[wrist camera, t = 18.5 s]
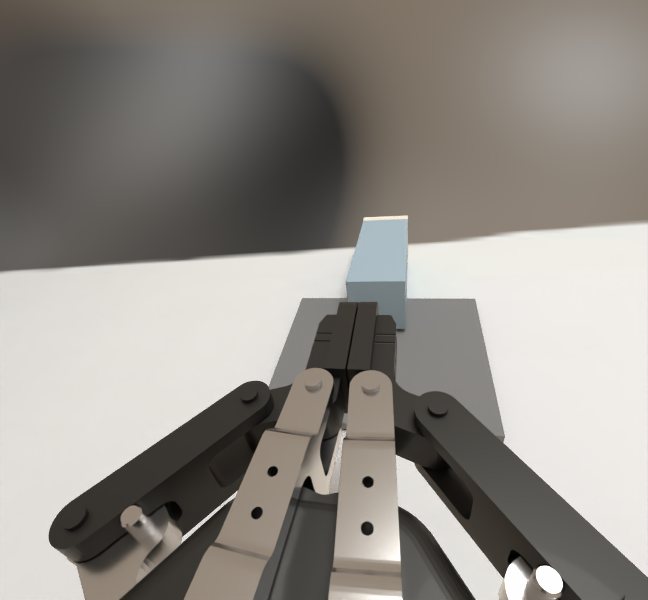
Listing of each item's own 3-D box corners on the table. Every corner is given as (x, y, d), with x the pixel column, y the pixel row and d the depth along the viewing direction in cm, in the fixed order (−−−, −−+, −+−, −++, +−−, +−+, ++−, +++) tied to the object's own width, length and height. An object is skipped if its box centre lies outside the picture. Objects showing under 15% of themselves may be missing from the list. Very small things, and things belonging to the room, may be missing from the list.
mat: (259, 422, 23) (257, 416, 23) (303, 303, 32) (302, 298, 32) (503, 442, 20) (504, 436, 20) (474, 304, 29) (475, 298, 29)
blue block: (345, 281, 26) (364, 217, 35) (350, 328, 28) (366, 255, 37) (405, 281, 25) (407, 215, 34) (405, 329, 27) (407, 254, 36)
